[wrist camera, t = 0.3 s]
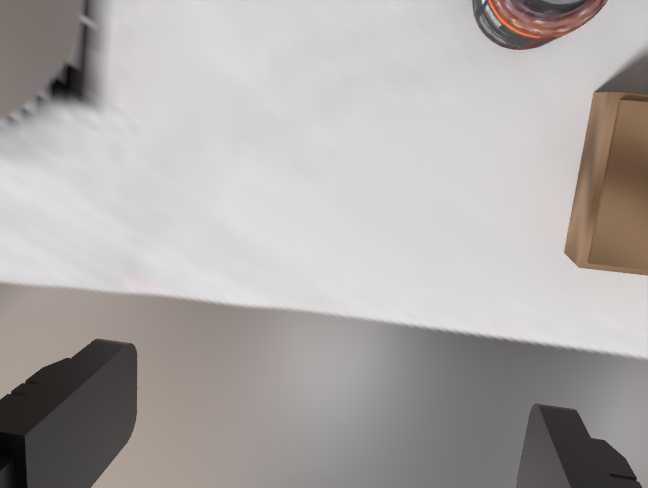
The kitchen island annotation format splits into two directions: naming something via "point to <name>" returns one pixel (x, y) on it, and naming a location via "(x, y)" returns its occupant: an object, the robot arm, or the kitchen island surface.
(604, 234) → the plinth
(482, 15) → the supplement bottle
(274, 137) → the kitchen island surface
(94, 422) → the robot arm
